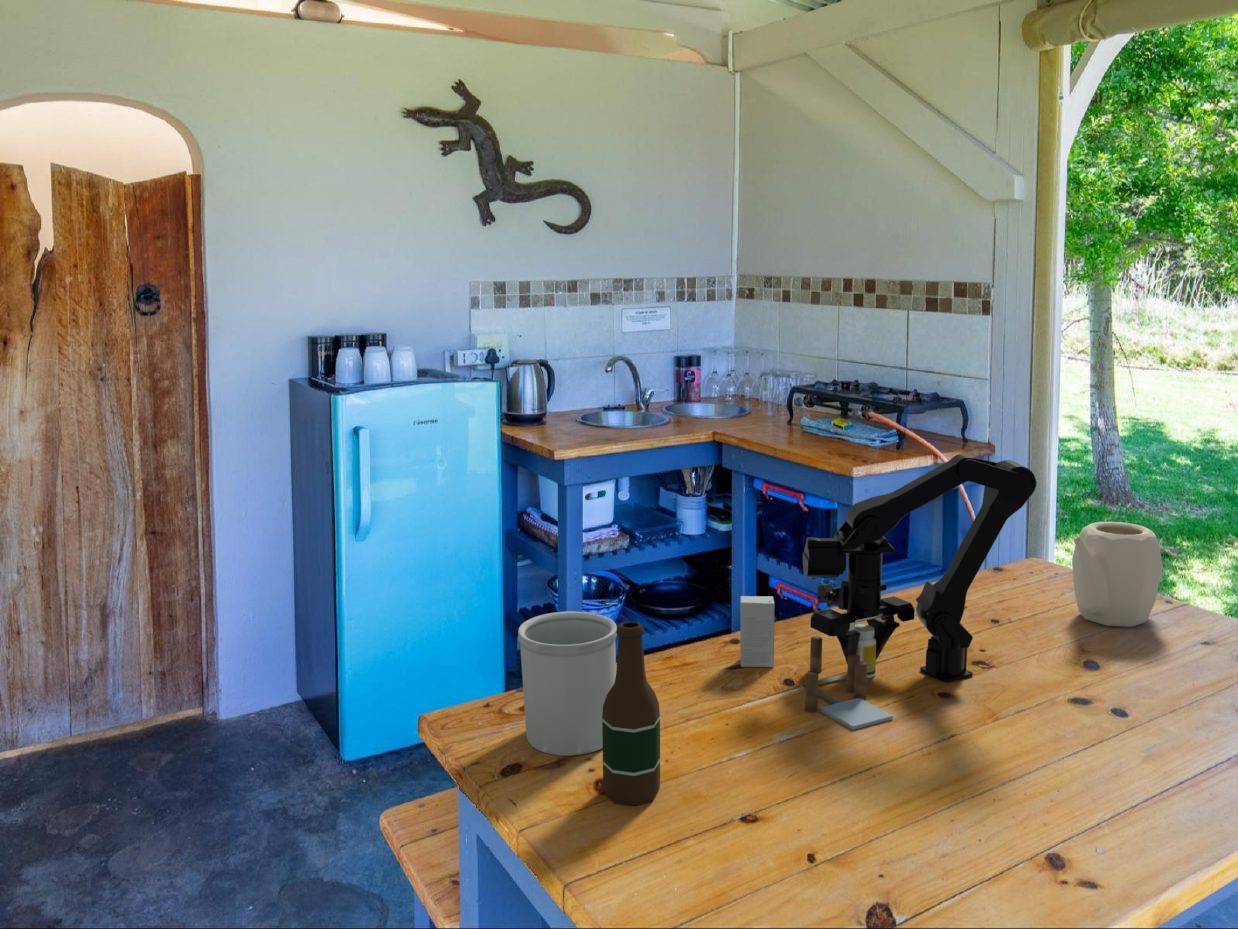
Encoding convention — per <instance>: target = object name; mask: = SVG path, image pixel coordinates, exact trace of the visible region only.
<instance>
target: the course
mask: <svg viewBox="0 0 1238 929" xmlns="http://www.w3.org/2000/svg"><path fill="white" fill-rule="evenodd" d="M809 658H810V659H809V671H810V672H806V673H805V682H804V683H800V684H799V687H800V688H802V689H803V690H805V691H804V692H805V695H804V710H805V712H806V713H811V714H812V713H813V714H814V713H818V711H819V710H818V708H819V706H818V705H819V703H818V702H819V700H818V699H821V700H823V701H825V702H827V703H828V704H829V705H832V704H836V703H840V702H841V701H840V700H838V699H837V698H834V697H833V696H831V695H829V694H827V693H825V692H823V690H822V691H821V690H820V689H819V687H821V686H824V685H829V684H833V683H837V682H841V681H846V692H848V693H851V694H852V693H853V699H856V698H861V699H863V700H865V701H866V700H867V689H868V688H867V686H868V678H867V663H866V662H864V661H860V656H859V655H856V654H850V655H848V665H847V676H846V675H845V674H839V675H838V674H837V675H836V676H835V675H834V676H830V677H826V678H822V679H819V674H818V673H821V672H822V671H823V670H822V668H823V667H822V666H823V665H822V664H823V662H822V661H823V637H822V636H817V635H813V636H810V654H809Z"/></svg>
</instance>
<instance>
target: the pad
mask: <svg viewBox="0 0 1238 929" xmlns="http://www.w3.org/2000/svg"><path fill="white" fill-rule="evenodd" d="M819 712H821V713H823V714H824V715H826V716H828V718H829V717H830V718H831V719H833V720H834V721H836V722H838V723H840V724H842V725H843V726H845V727H847V728H849V729H850V730H852V731H854V730H859V729H861V728H866V727H869V726H873V725H877V724H881V723H885V722H888V721H891V720H894V715H892V714H891V713H889V712H887V711H885V710H883V709H881V708H880V707H877V706H876V705H874V704H872V703H870V702H868V701H866V699H865V700H863V699H861V698H856V699H854V698H853V699H850V700H845V701H840V703H836V704H828V705H823V706H821V707H819Z"/></svg>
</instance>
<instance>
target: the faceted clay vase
mask: <svg viewBox="0 0 1238 929" xmlns="http://www.w3.org/2000/svg"><path fill="white" fill-rule="evenodd" d="M1072 541H1073V543H1074V544H1075V545H1074V550H1073V554H1072V558H1071V561H1072V563H1071V564H1072V578H1073V591H1074V595H1075V600H1076V605H1077V608H1078V612H1079V613H1080V614H1081V616H1082V617H1083V619H1085V620H1086V621H1090V622H1094V623H1098V624H1101V625H1103V626H1107V627H1123V628H1124V627H1127V628H1132V627H1135V626H1138V625H1141V624H1144V623H1146V622H1147V621H1148V619H1149V617H1150V615H1151V612H1152V610H1153V607H1154V605H1155V604H1156V600H1157V599H1156V598H1157V595H1158V590H1159V588H1160V583H1161V582H1160V581H1161V578H1162V574H1163V565H1162V564H1163V562H1162V552H1161V548H1160V545H1159V544H1160V543H1159V541H1158V538H1157V535H1156V534H1155V532H1154V531H1152V530H1151V529H1149V528H1147V526H1146V527H1145V526H1143V525H1139V524H1135V523H1131V522H1130V523H1129V522H1124V521H1123V522H1122V521H1097V522H1092V523H1090V524H1088V525H1086V526H1084V527H1083V528H1082V529H1081V531H1080V534H1079V535H1078V537H1075V538H1074V539H1072Z"/></svg>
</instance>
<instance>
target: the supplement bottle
mask: <svg viewBox="0 0 1238 929" xmlns="http://www.w3.org/2000/svg"><path fill="white" fill-rule="evenodd" d="M855 631H857V632H859V633H860V637H859V642H858V647H857V652H856V655H859V656H860V661H864V662H866V663H867V679H870V678H873V677H874V676H875V675H876V672H877V671H876V667H877V664H876V662H877V660H876V640H875V638H873V637H874V628H873V627H872V626H869V625H868V624H862V623H859V624H858V623H857V624H855Z"/></svg>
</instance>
